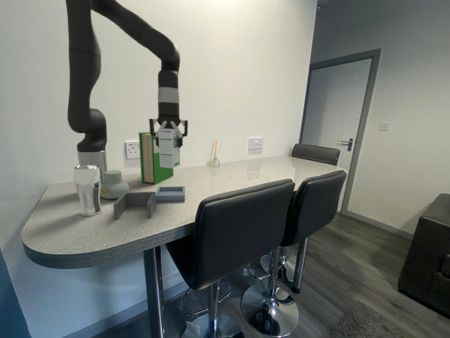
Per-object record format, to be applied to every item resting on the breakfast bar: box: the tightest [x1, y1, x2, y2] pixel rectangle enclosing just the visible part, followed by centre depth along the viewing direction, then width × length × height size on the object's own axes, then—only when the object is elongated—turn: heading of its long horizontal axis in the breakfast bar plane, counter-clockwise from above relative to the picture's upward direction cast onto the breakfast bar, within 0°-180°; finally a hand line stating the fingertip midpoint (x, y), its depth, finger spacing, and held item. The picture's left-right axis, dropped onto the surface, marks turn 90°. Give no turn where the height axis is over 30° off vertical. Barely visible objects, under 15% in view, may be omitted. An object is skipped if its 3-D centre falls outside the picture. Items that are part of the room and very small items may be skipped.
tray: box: [155, 185, 186, 203], centre depth 81 cm, size 11×11×2 cm
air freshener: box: [100, 169, 131, 200], centre depth 77 cm, size 11×8×10 cm
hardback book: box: [138, 131, 174, 185], centre depth 102 cm, size 18×7×24 cm, turn 166°
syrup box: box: [157, 128, 181, 169], centre depth 77 cm, size 6×6×14 cm
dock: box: [112, 191, 157, 220], centre depth 66 cm, size 10×10×5 cm
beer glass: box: [73, 165, 104, 217], centre depth 63 cm, size 7×7×15 cm
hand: (169, 147), depth 77 cm, fingers closed on syrup box, 7 cm apart
